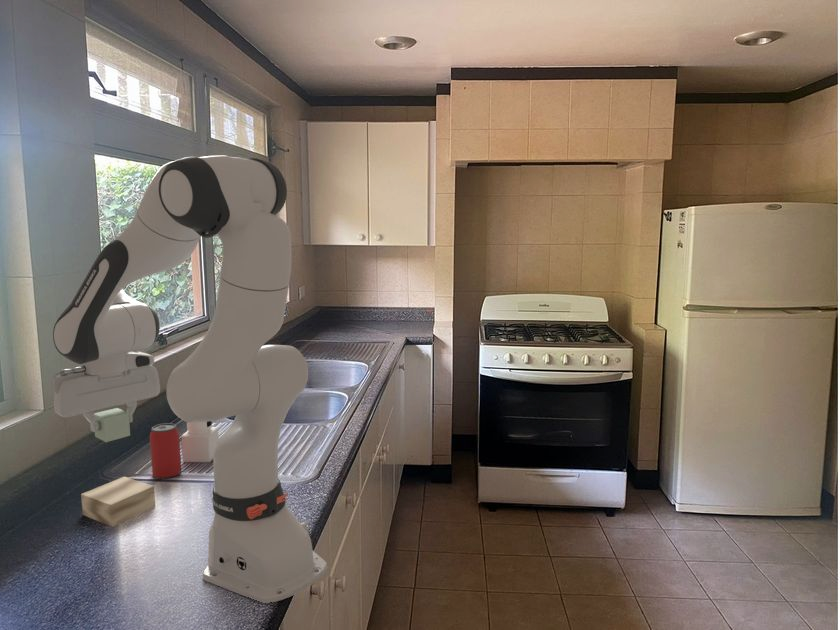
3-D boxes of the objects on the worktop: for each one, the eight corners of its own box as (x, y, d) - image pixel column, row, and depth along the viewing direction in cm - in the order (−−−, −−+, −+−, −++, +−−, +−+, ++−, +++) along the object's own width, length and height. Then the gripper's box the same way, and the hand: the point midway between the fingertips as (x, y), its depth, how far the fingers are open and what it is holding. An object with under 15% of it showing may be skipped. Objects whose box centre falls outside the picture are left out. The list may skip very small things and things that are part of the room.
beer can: (172, 466, 154) (169, 420, 152) (186, 473, 150) (183, 426, 148) (147, 474, 149) (143, 427, 147) (161, 482, 145) (157, 433, 143)
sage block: (130, 435, 129) (128, 412, 128) (105, 442, 125) (103, 418, 124) (119, 430, 132) (117, 407, 131) (95, 436, 128) (93, 413, 127)
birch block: (155, 507, 133) (153, 486, 132) (112, 528, 124) (110, 504, 123) (126, 497, 138) (124, 476, 137) (83, 516, 129) (81, 494, 128)
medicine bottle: (193, 451, 163) (190, 408, 161) (219, 452, 163) (217, 408, 161) (182, 462, 156) (179, 417, 154) (210, 462, 156) (207, 417, 154)
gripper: (57, 374, 116) (64, 444, 118) (161, 355, 131) (165, 417, 133) (44, 369, 120) (51, 436, 122) (147, 351, 135) (151, 411, 137)
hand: (112, 426), depth 128 cm, fingers closed on sage block, 5 cm apart
